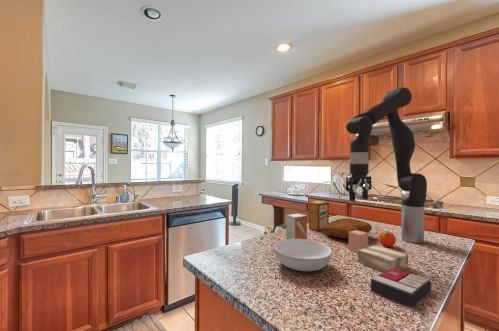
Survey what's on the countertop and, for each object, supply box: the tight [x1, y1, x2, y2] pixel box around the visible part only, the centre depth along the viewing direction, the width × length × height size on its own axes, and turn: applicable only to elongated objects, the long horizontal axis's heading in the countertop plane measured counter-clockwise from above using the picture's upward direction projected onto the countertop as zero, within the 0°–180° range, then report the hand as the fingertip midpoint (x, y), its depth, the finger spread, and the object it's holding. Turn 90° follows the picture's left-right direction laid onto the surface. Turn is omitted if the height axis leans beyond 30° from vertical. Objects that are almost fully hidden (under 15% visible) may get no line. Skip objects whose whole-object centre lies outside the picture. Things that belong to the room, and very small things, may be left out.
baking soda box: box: [308, 200, 330, 233], centre depth 140 cm, size 10×6×16 cm
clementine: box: [378, 230, 397, 248], centre depth 110 cm, size 8×7×7 cm
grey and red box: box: [370, 268, 432, 309], centre depth 71 cm, size 11×4×15 cm
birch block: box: [357, 244, 409, 273], centre depth 90 cm, size 12×12×5 cm
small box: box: [285, 213, 308, 240], centre depth 116 cm, size 8×6×13 cm
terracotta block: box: [348, 230, 369, 254], centre depth 104 cm, size 6×6×8 cm
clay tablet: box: [323, 217, 373, 239], centre depth 125 cm, size 22×17×8 cm
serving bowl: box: [273, 239, 333, 272], centre depth 89 cm, size 21×21×7 cm
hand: (358, 200), depth 104 cm, fingers open, 8 cm apart
